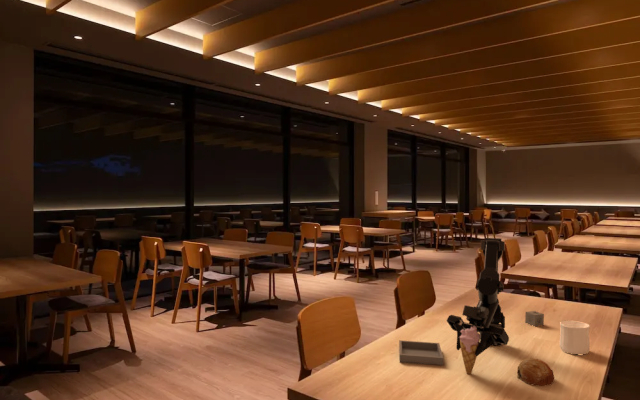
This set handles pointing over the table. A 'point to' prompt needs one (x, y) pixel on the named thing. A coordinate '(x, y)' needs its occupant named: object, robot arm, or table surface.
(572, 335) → the cup
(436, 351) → the tray
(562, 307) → the table surface
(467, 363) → the ice cream cone
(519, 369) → the bread roll
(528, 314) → the dice cube
